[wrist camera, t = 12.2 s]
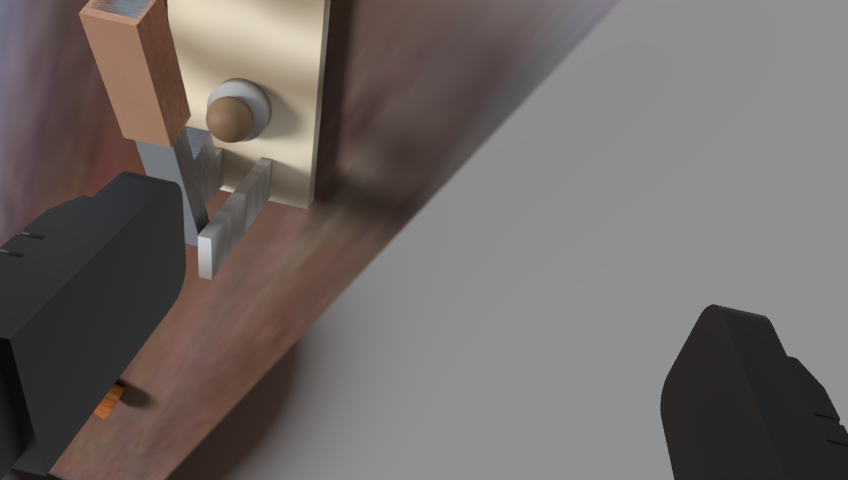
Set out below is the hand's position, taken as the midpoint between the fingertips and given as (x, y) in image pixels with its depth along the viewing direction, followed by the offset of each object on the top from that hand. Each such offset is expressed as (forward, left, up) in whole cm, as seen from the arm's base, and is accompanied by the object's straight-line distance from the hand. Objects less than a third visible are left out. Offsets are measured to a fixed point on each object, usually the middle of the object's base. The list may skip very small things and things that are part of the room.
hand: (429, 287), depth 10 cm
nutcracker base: (+10, -15, -33) cm, 38 cm away
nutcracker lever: (+10, -15, -24) cm, 30 cm away
